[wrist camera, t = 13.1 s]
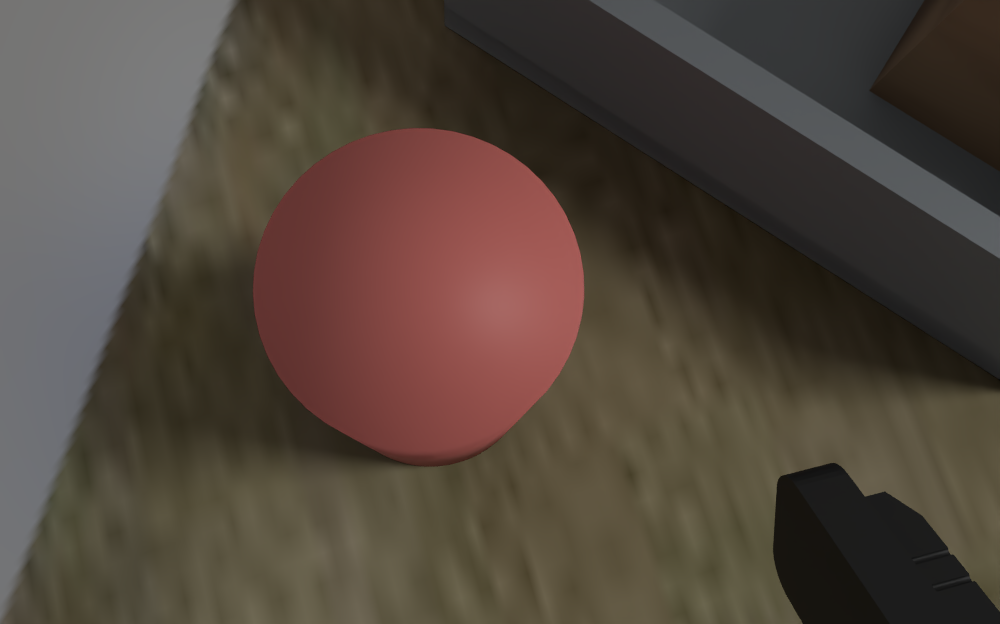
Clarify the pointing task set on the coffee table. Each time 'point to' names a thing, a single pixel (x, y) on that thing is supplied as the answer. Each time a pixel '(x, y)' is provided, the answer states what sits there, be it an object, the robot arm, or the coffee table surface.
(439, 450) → the red capsule
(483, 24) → the tote
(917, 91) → the walnut cube
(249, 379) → the coffee table surface
